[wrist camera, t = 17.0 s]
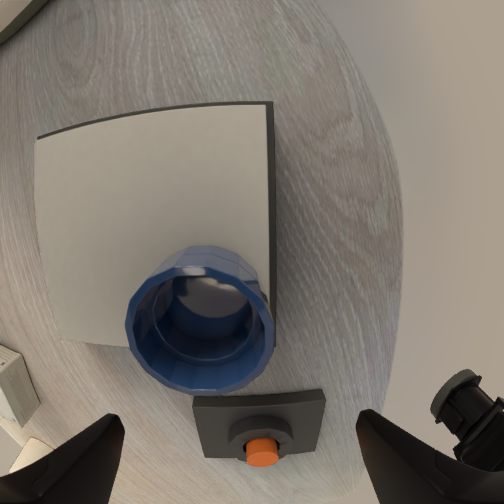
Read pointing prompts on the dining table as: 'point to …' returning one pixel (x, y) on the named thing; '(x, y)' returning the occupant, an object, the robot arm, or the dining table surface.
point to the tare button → (261, 452)
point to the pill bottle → (30, 454)
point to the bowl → (16, 15)
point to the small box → (15, 388)
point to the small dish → (201, 322)
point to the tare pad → (259, 422)
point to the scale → (150, 205)
